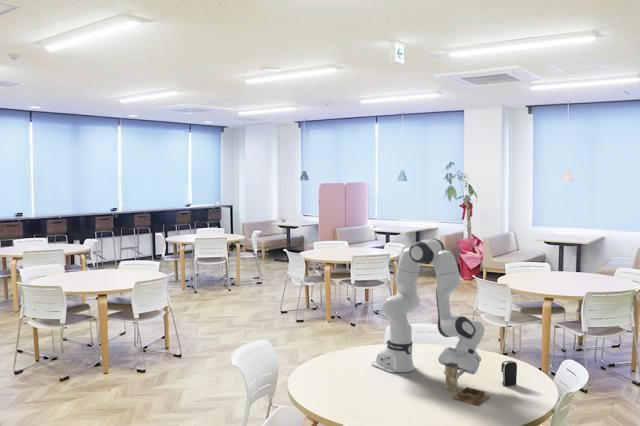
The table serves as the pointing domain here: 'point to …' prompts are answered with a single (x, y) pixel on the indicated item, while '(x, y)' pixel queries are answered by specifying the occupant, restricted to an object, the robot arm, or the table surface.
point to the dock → (471, 396)
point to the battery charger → (509, 373)
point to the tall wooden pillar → (451, 376)
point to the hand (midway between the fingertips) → (450, 376)
